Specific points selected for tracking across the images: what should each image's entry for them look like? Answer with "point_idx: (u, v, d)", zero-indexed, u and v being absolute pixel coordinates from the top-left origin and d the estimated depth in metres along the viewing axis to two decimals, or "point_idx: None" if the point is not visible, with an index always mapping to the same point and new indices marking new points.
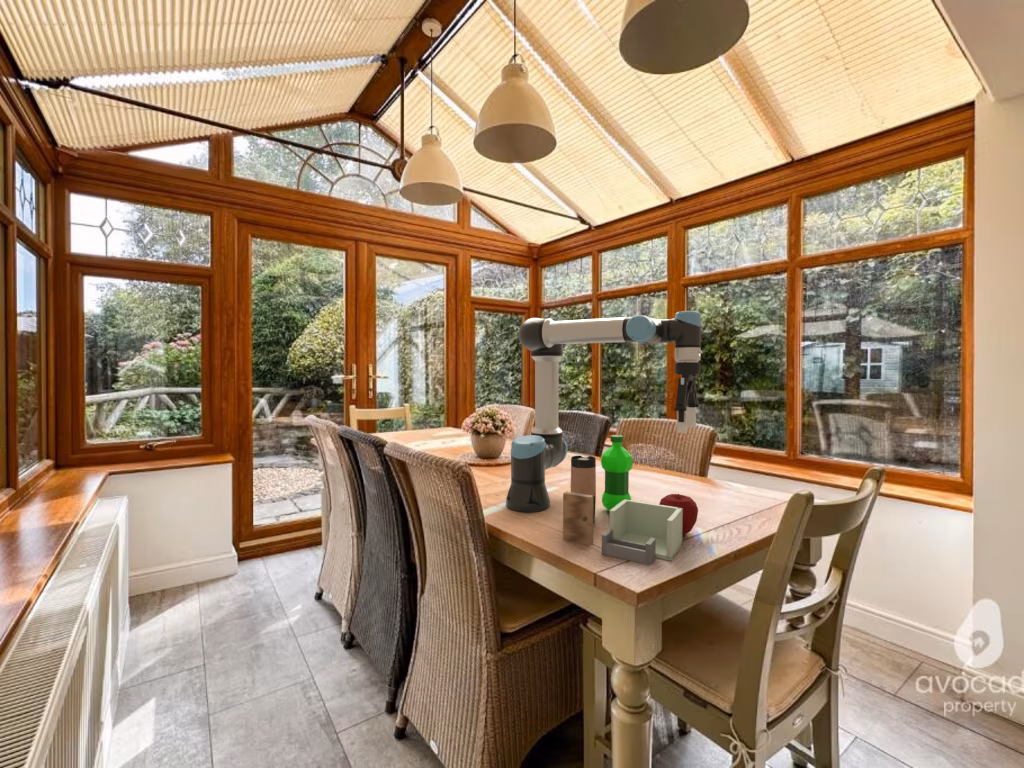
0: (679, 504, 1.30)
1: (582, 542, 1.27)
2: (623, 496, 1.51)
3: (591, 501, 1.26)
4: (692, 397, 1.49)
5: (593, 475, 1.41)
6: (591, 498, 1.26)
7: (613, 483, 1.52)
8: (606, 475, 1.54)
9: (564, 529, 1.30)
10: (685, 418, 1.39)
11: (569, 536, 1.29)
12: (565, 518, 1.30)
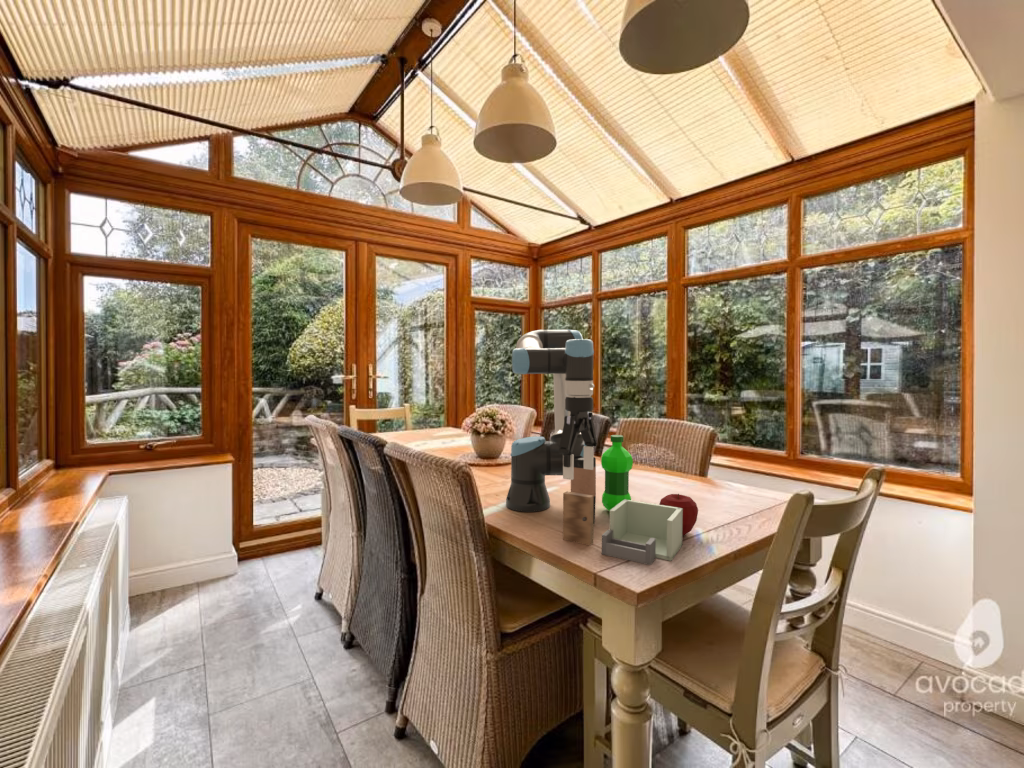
0: (679, 504, 1.30)
1: (582, 542, 1.27)
2: (623, 496, 1.51)
3: (591, 501, 1.26)
4: (587, 435, 1.31)
5: (593, 475, 1.41)
6: (591, 498, 1.26)
7: (613, 483, 1.51)
8: (606, 475, 1.54)
9: (564, 529, 1.30)
10: (571, 462, 1.21)
11: (569, 536, 1.29)
12: (565, 518, 1.30)
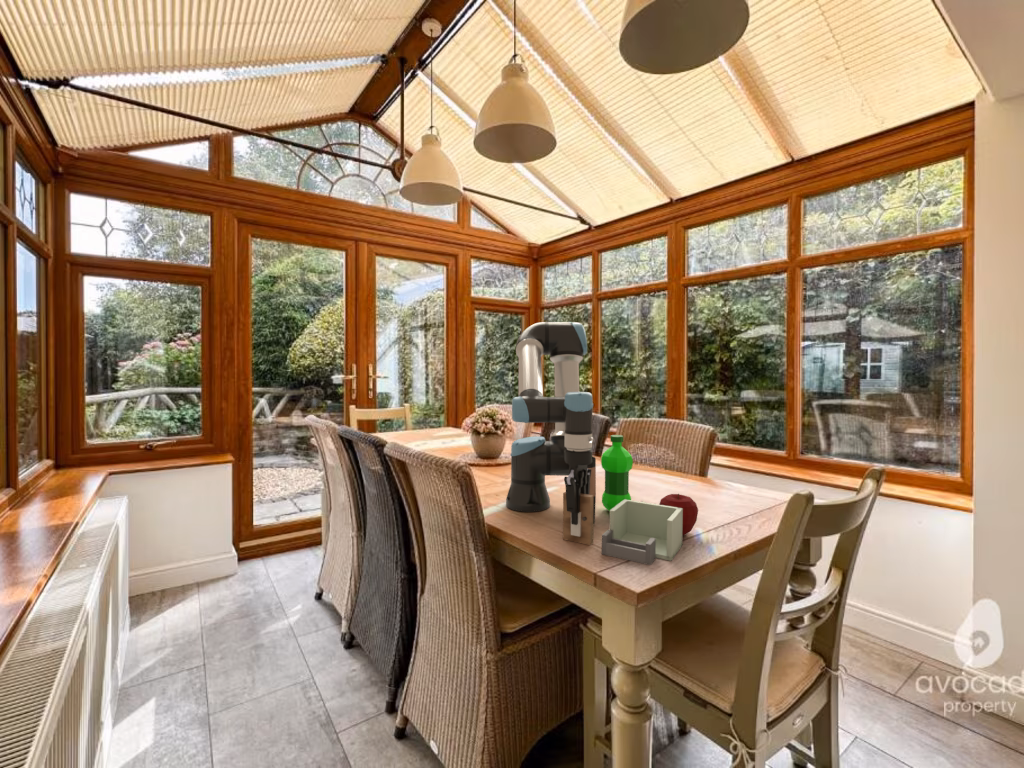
0: (679, 504, 1.30)
1: (582, 542, 1.27)
2: (623, 496, 1.51)
3: (591, 501, 1.26)
4: (582, 492, 1.29)
5: (593, 475, 1.41)
6: (591, 498, 1.26)
7: (613, 483, 1.52)
8: (606, 475, 1.54)
9: (564, 529, 1.30)
10: (579, 520, 1.27)
11: (569, 536, 1.29)
12: (565, 518, 1.30)
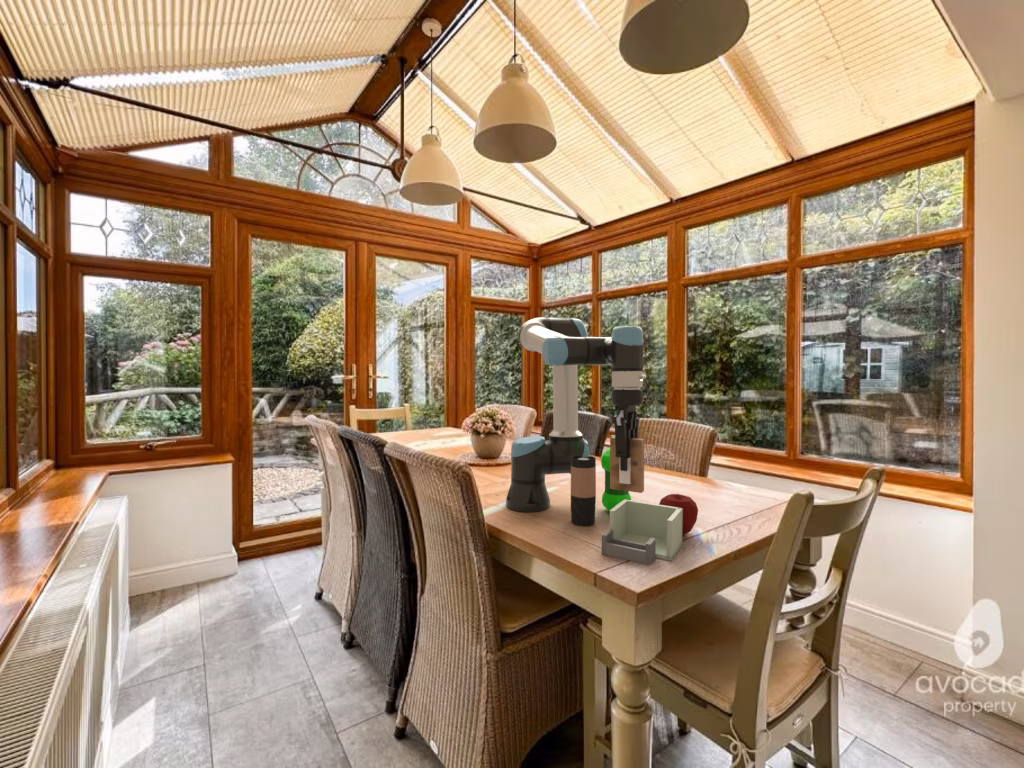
0: (679, 504, 1.30)
1: (632, 490, 1.16)
2: (623, 496, 1.51)
3: (642, 444, 1.15)
4: (631, 437, 1.18)
5: (593, 475, 1.41)
6: (642, 441, 1.15)
7: None
8: (606, 475, 1.54)
9: (611, 477, 1.19)
10: (628, 466, 1.16)
11: (617, 485, 1.18)
12: (612, 465, 1.19)
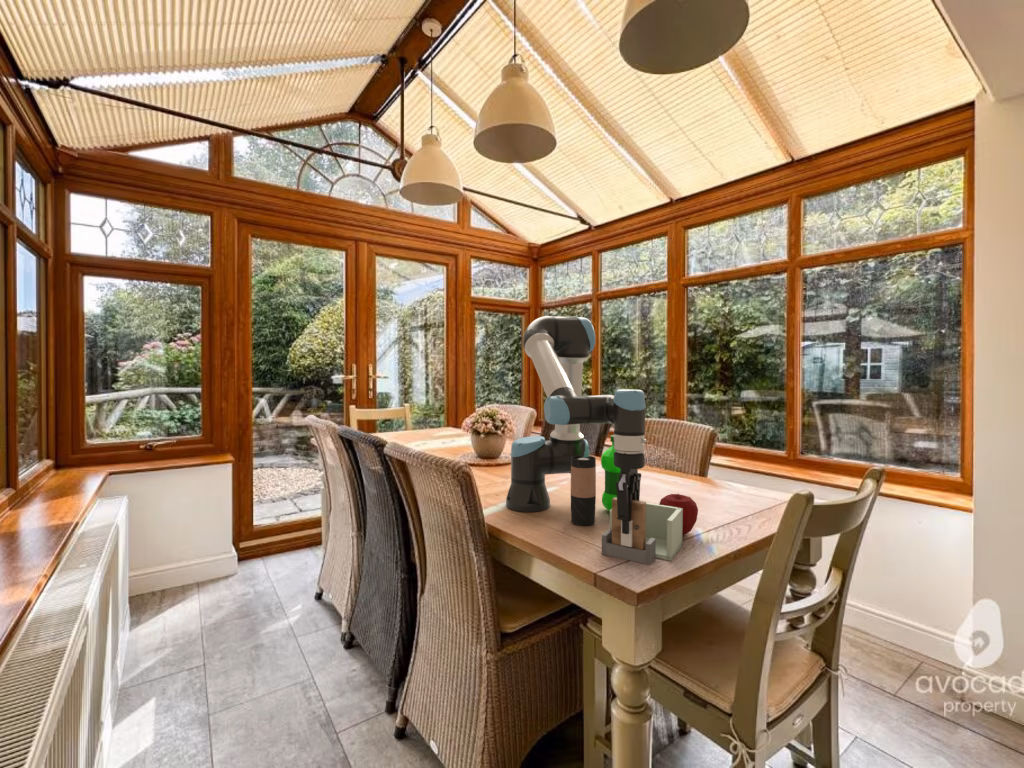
0: (679, 504, 1.30)
1: None
2: None
3: (644, 508, 1.16)
4: (633, 498, 1.19)
5: (593, 475, 1.41)
6: (644, 505, 1.16)
7: (613, 483, 1.51)
8: (606, 475, 1.54)
9: (613, 538, 1.19)
10: (630, 529, 1.16)
11: None
12: (614, 526, 1.19)
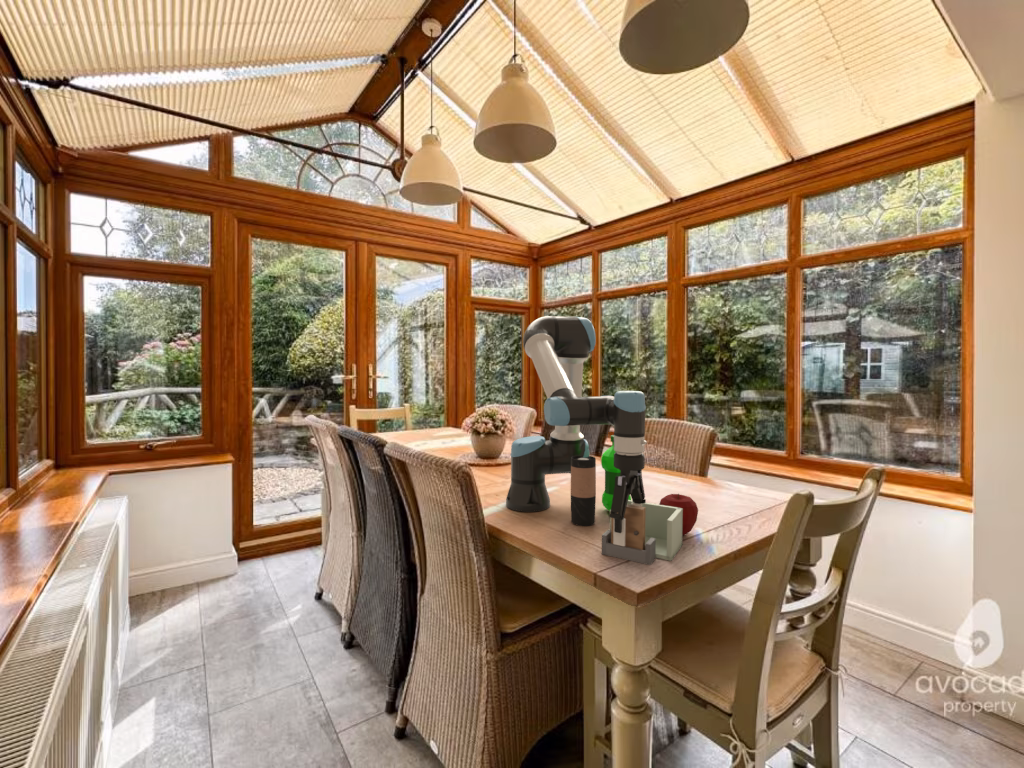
0: (679, 504, 1.30)
1: None
2: None
3: (643, 513, 1.16)
4: (637, 493, 1.22)
5: (593, 475, 1.41)
6: (643, 510, 1.16)
7: (613, 483, 1.52)
8: (606, 475, 1.54)
9: None
10: (623, 527, 1.12)
11: None
12: None
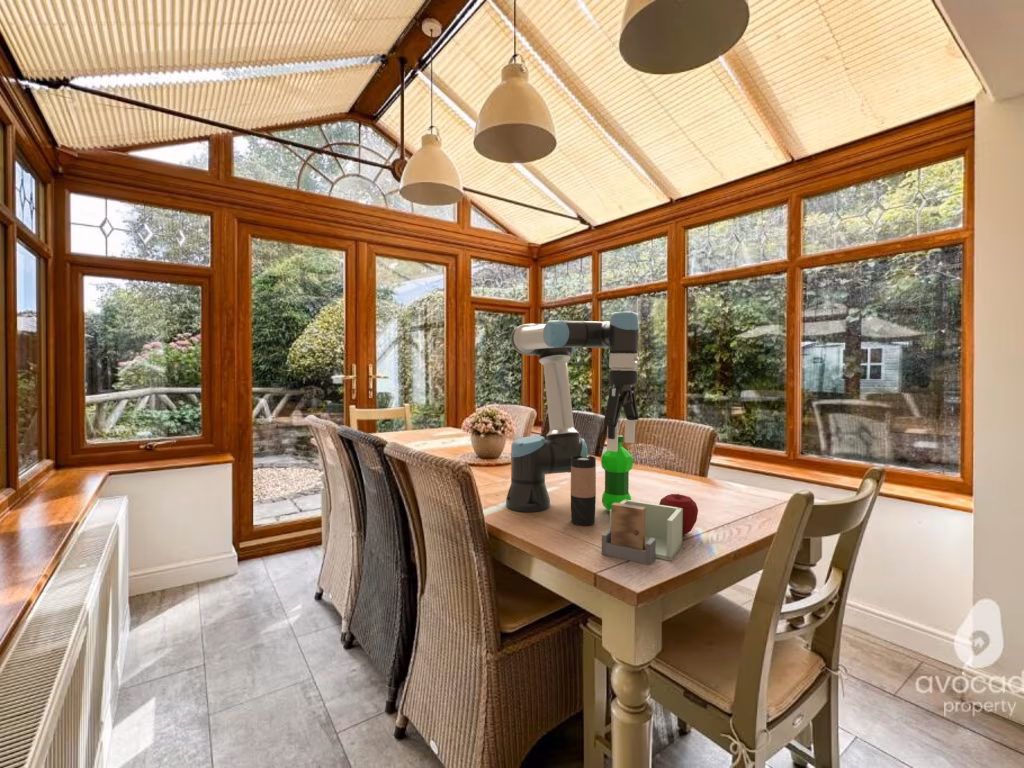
0: (679, 504, 1.30)
1: None
2: (623, 496, 1.51)
3: (643, 513, 1.16)
4: (630, 409, 1.32)
5: (593, 475, 1.41)
6: (643, 510, 1.16)
7: (613, 483, 1.52)
8: (606, 475, 1.54)
9: None
10: (616, 434, 1.22)
11: None
12: (613, 532, 1.19)
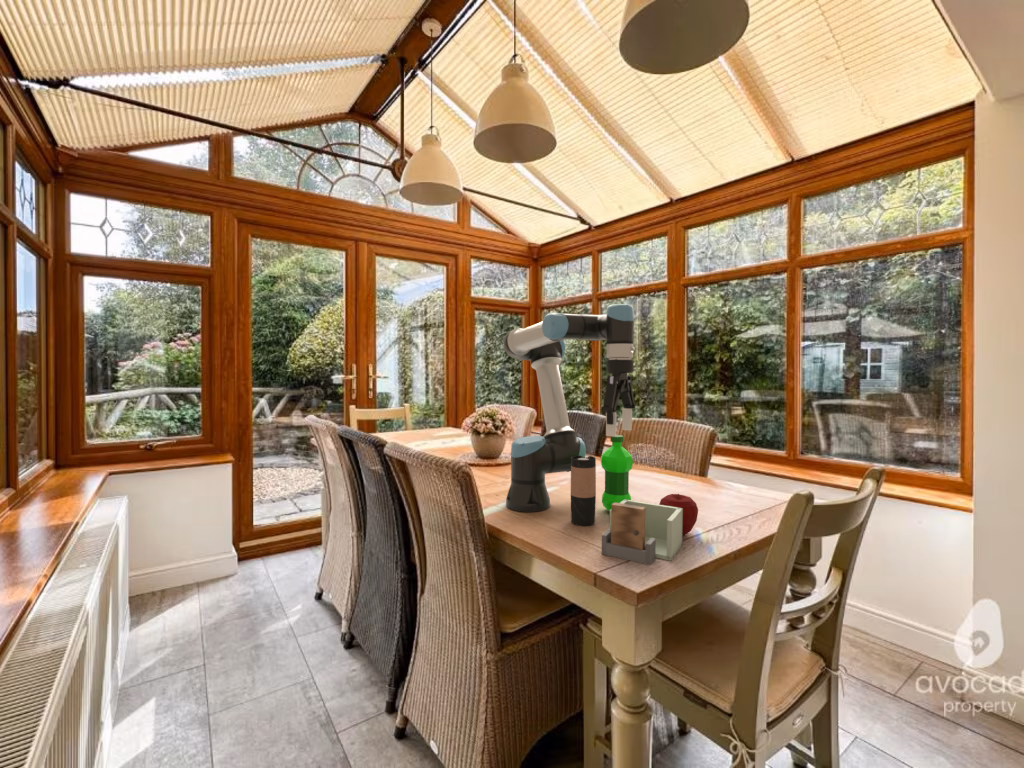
0: (679, 504, 1.30)
1: None
2: (623, 496, 1.51)
3: (643, 513, 1.16)
4: (627, 397, 1.38)
5: (593, 475, 1.41)
6: (643, 510, 1.16)
7: (613, 483, 1.52)
8: (606, 475, 1.54)
9: None
10: (614, 420, 1.28)
11: None
12: (613, 532, 1.19)
